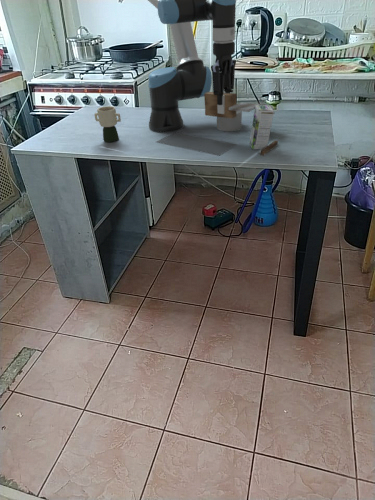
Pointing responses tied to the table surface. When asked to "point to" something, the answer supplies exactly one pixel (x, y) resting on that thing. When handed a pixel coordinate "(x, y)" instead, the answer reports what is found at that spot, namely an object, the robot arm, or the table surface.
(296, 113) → the table surface
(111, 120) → the trophy cup
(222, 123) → the grey rounded piece
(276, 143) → the bar
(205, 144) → the tool mat
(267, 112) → the syrup box
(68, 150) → the table surface
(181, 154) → the table surface
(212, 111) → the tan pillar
